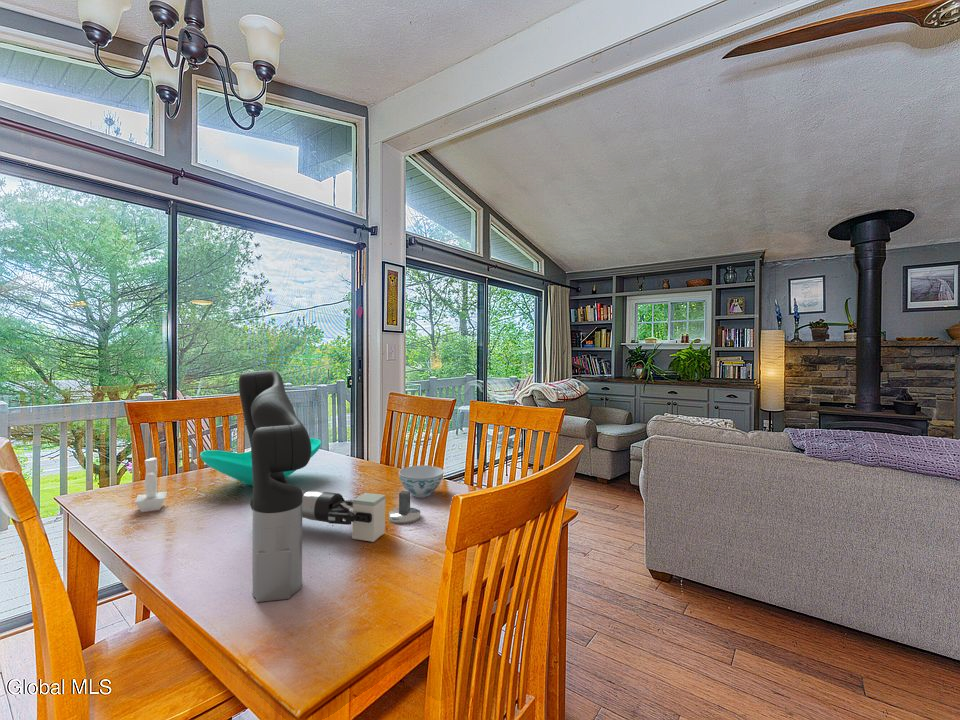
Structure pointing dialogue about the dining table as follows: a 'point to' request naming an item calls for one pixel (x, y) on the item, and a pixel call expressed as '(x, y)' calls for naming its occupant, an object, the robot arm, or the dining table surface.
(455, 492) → the dining table surface
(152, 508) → the figurine
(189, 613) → the dining table surface
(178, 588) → the dining table surface
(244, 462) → the table top decor
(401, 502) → the grey post on dish
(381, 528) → the pale green block
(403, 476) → the chinaware
